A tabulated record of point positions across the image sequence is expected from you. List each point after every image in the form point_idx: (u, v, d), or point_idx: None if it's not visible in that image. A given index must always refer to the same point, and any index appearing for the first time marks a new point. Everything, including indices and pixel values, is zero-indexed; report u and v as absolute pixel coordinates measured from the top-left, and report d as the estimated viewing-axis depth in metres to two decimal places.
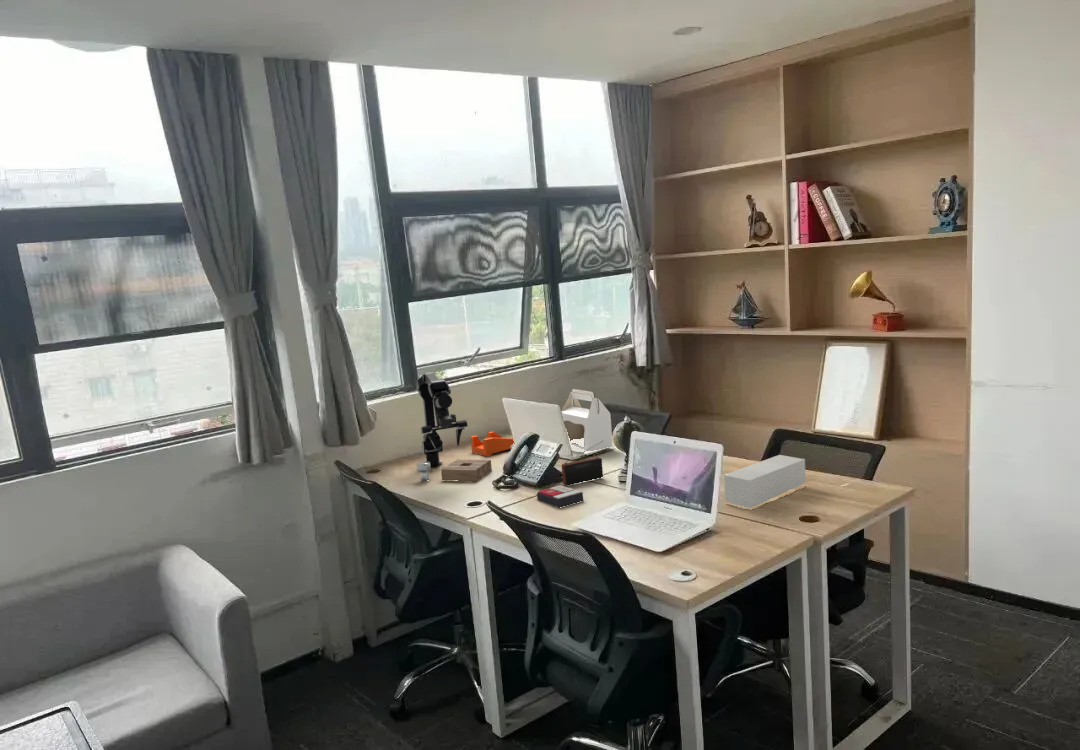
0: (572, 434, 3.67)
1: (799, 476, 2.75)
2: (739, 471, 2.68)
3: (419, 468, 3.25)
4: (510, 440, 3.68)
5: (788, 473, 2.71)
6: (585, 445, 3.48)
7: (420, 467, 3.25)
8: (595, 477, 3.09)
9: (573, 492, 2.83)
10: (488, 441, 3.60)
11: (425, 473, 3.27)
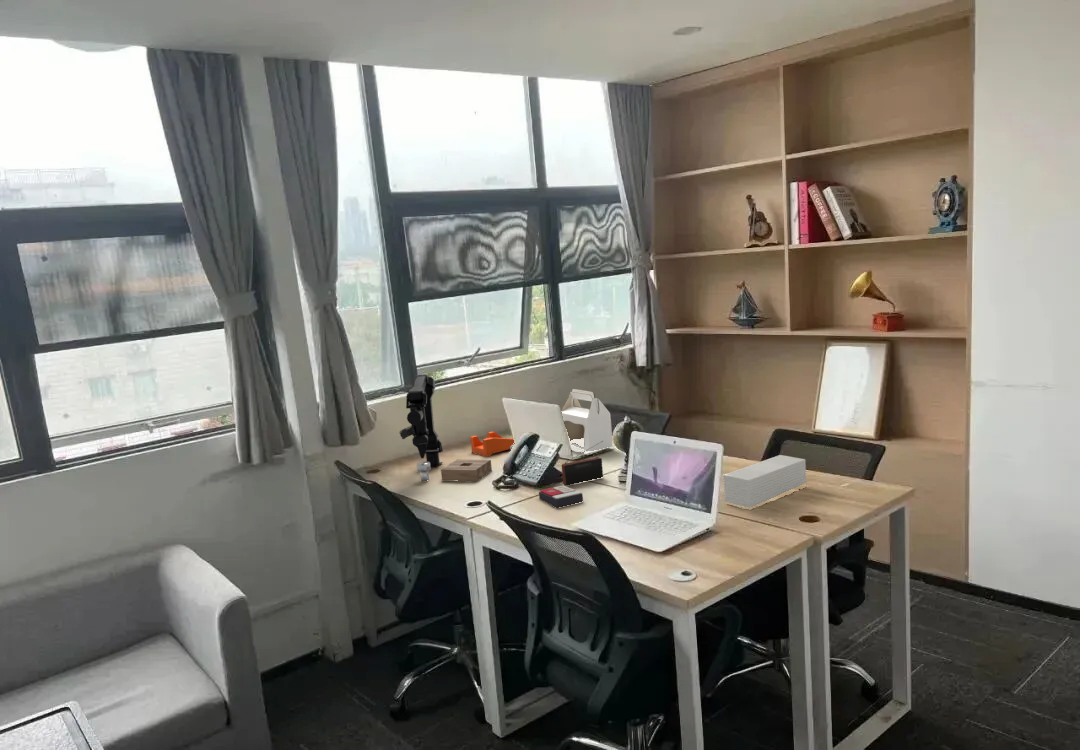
0: (572, 434, 3.67)
1: (799, 476, 2.75)
2: (739, 471, 2.68)
3: (419, 468, 3.25)
4: (510, 440, 3.68)
5: (788, 473, 2.71)
6: (585, 445, 3.48)
7: (420, 467, 3.25)
8: (595, 477, 3.09)
9: (573, 493, 2.82)
10: (488, 441, 3.60)
11: (425, 473, 3.27)
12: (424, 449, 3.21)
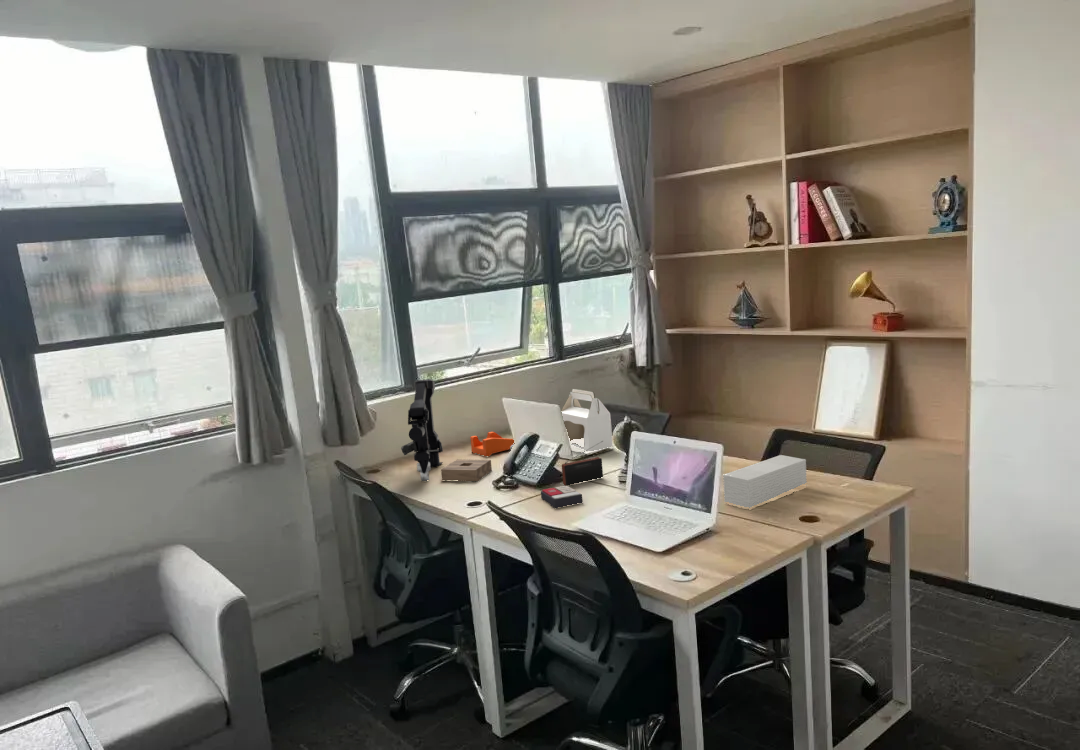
0: (572, 434, 3.67)
1: (800, 476, 2.75)
2: (739, 471, 2.69)
3: (419, 468, 3.25)
4: (510, 440, 3.68)
5: (788, 473, 2.71)
6: (585, 445, 3.48)
7: (420, 467, 3.25)
8: (595, 477, 3.09)
9: (572, 493, 2.82)
10: (487, 441, 3.60)
11: (425, 473, 3.27)
12: (426, 464, 3.23)
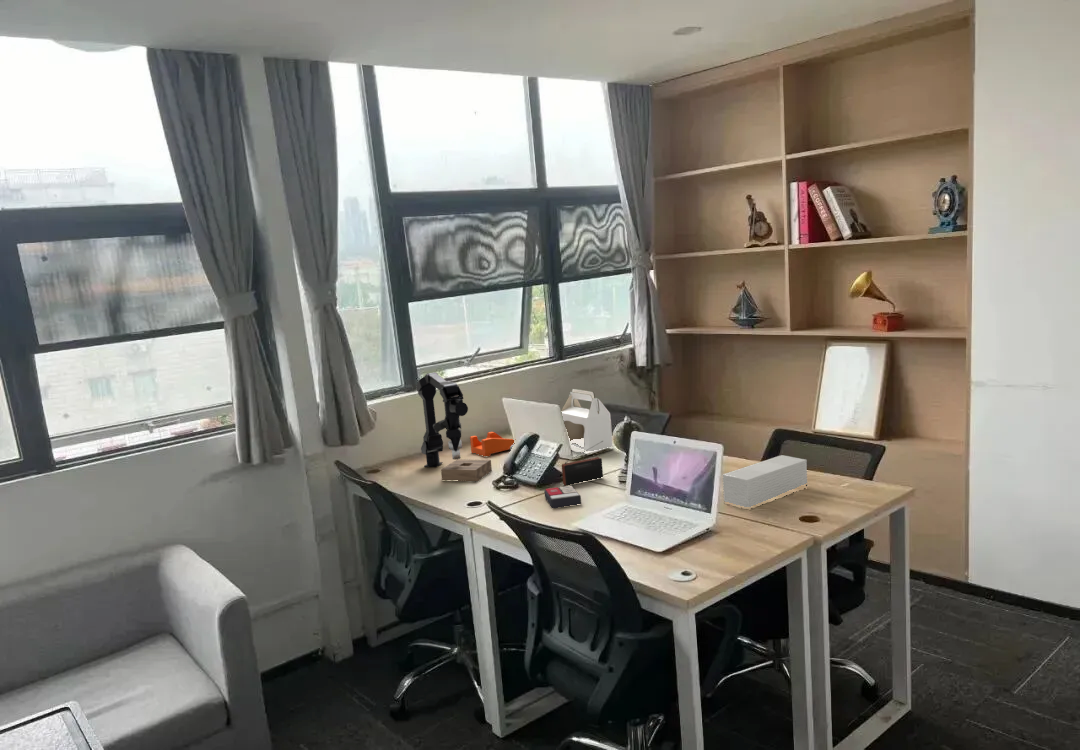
0: (572, 434, 3.67)
1: (800, 477, 2.75)
2: (738, 471, 2.69)
3: (451, 446, 3.25)
4: (509, 440, 3.68)
5: (788, 473, 2.71)
6: (585, 445, 3.48)
7: (451, 444, 3.25)
8: (595, 477, 3.09)
9: (571, 494, 2.81)
10: (486, 441, 3.60)
11: (457, 450, 3.27)
12: (457, 441, 3.23)
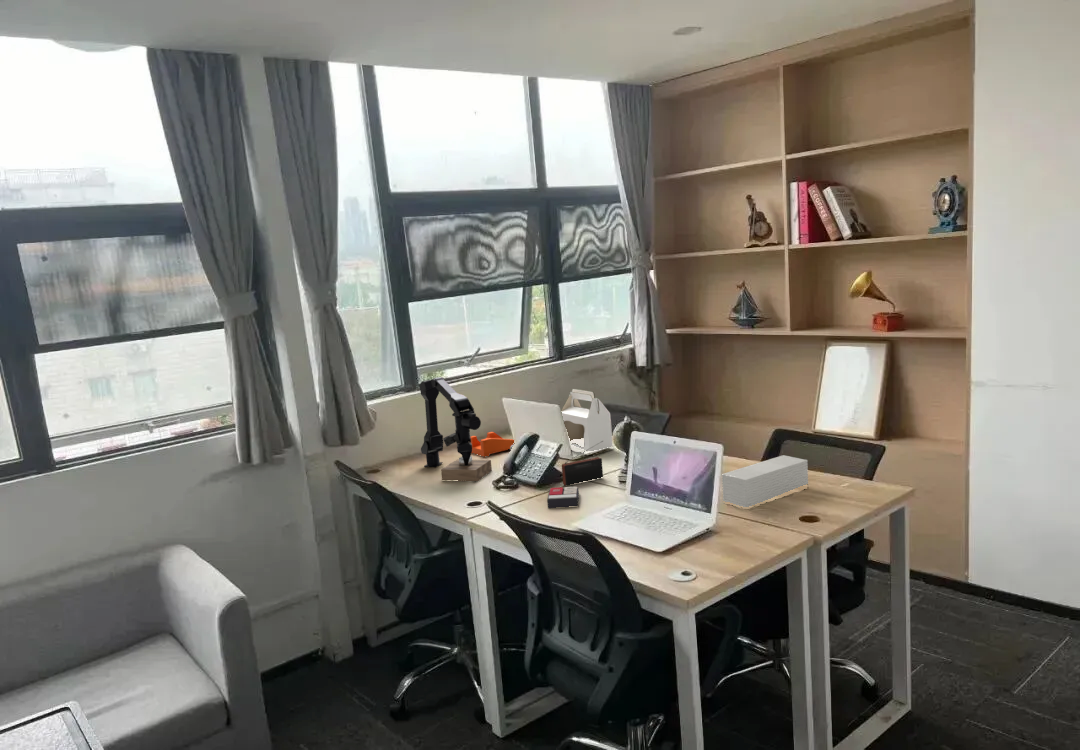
0: (572, 434, 3.67)
1: (801, 477, 2.74)
2: (738, 470, 2.69)
3: (461, 463, 3.27)
4: (508, 441, 3.67)
5: (789, 474, 2.71)
6: (585, 445, 3.48)
7: (462, 461, 3.27)
8: (595, 477, 3.09)
9: (569, 495, 2.79)
10: (485, 441, 3.60)
11: None
12: (468, 456, 3.23)
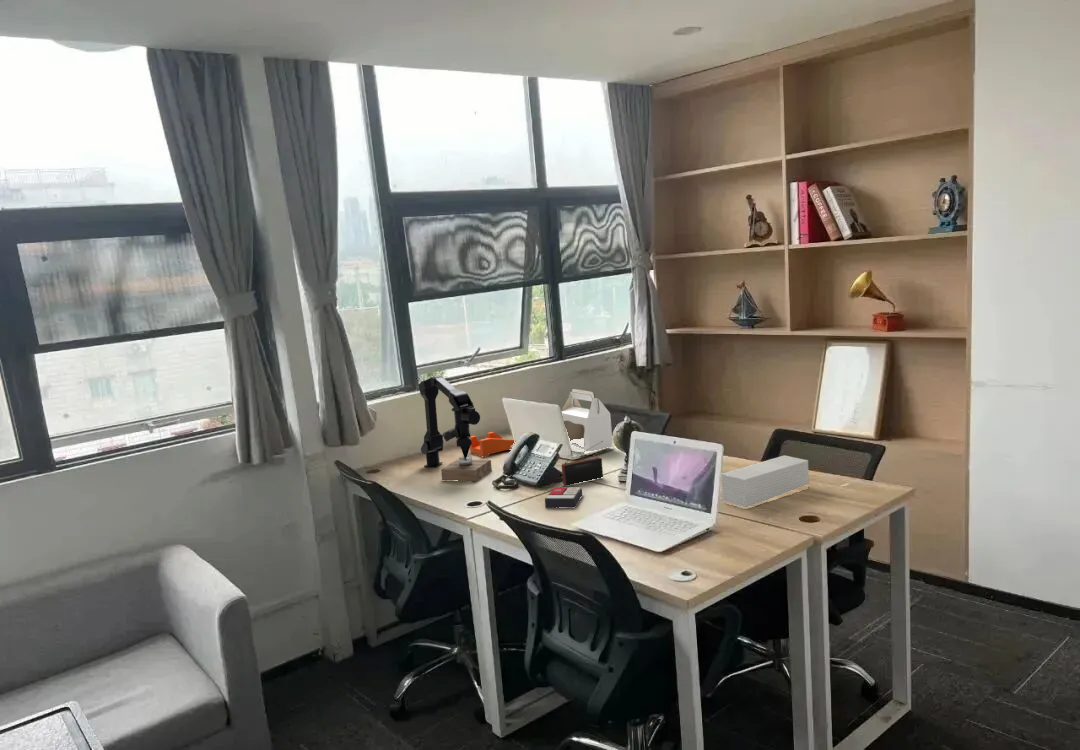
0: (572, 434, 3.67)
1: (801, 477, 2.74)
2: (738, 470, 2.69)
3: (461, 463, 3.27)
4: (508, 441, 3.67)
5: (789, 474, 2.70)
6: (585, 445, 3.48)
7: (462, 461, 3.27)
8: (595, 477, 3.09)
9: (567, 496, 2.79)
10: (484, 441, 3.60)
11: None
12: (467, 449, 3.27)
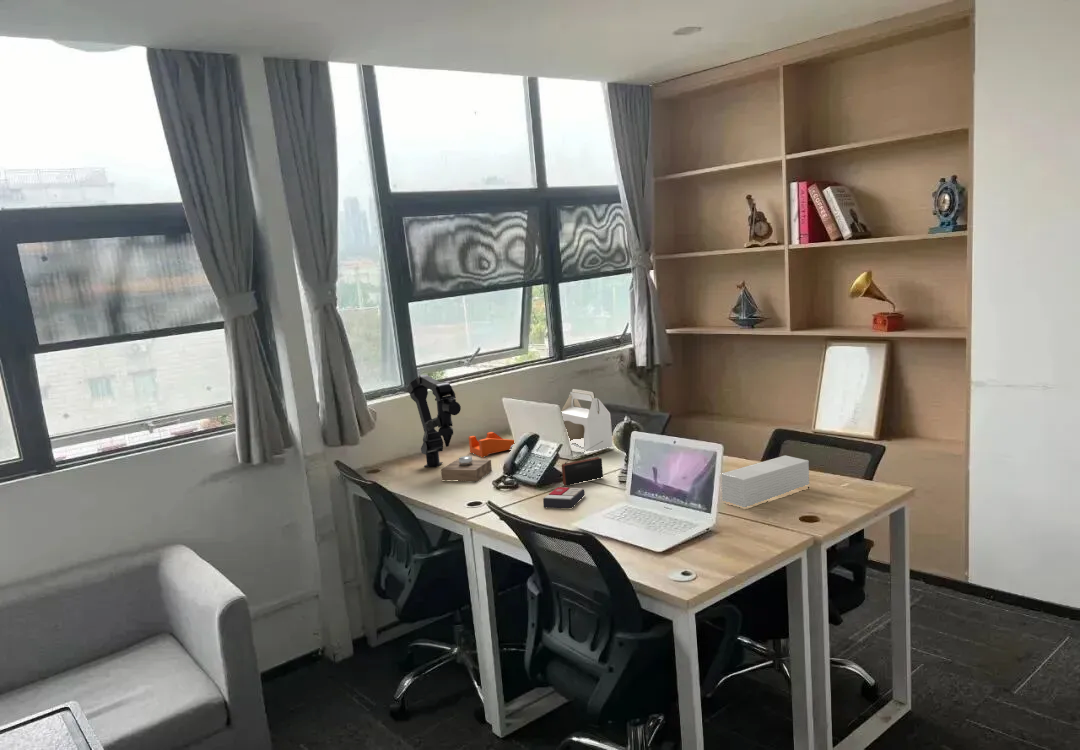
0: (572, 434, 3.67)
1: (802, 477, 2.74)
2: (737, 470, 2.69)
3: (461, 463, 3.27)
4: (507, 441, 3.67)
5: (789, 474, 2.70)
6: (585, 445, 3.48)
7: (462, 461, 3.27)
8: (595, 477, 3.09)
9: (565, 497, 2.78)
10: (484, 442, 3.60)
11: None
12: (449, 438, 3.36)
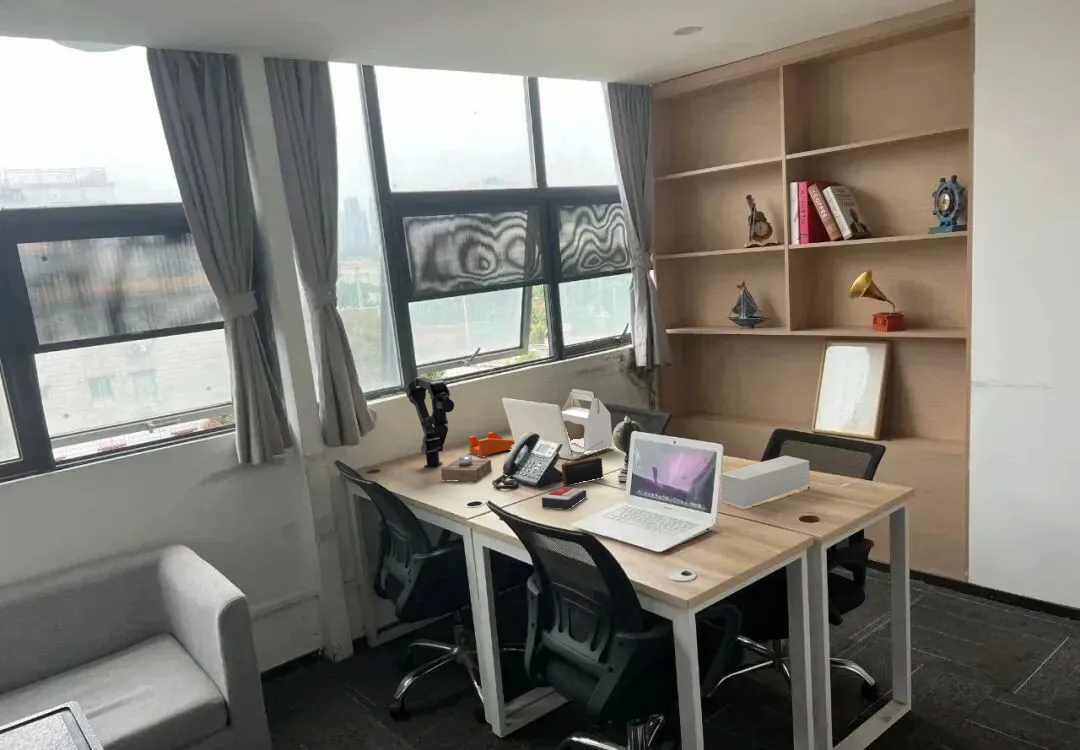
0: (572, 434, 3.67)
1: (802, 477, 2.73)
2: (737, 470, 2.70)
3: (461, 463, 3.27)
4: (507, 441, 3.66)
5: (789, 474, 2.70)
6: (585, 445, 3.48)
7: (462, 461, 3.27)
8: (595, 477, 3.09)
9: (563, 497, 2.78)
10: (483, 442, 3.60)
11: None
12: (444, 435, 3.38)
